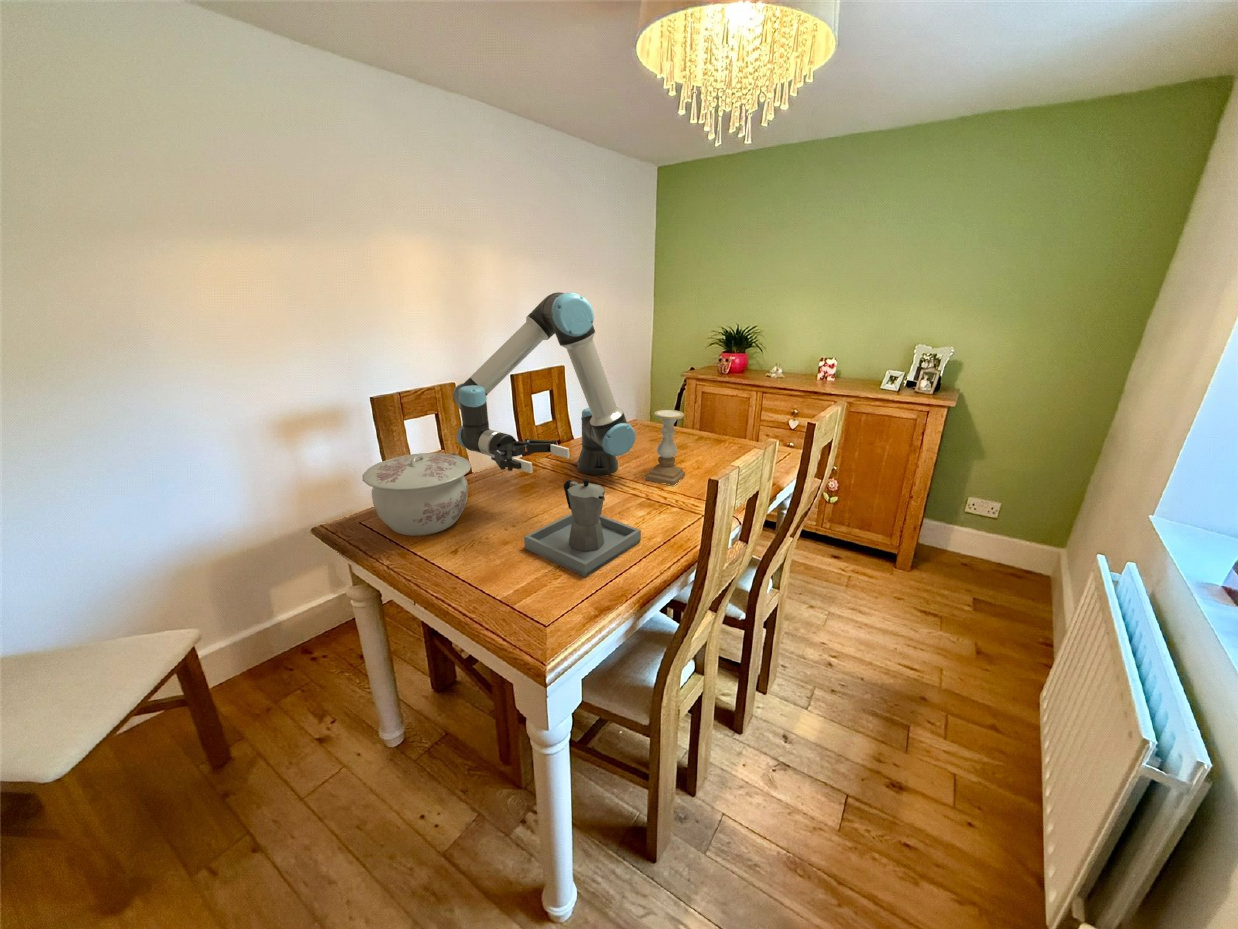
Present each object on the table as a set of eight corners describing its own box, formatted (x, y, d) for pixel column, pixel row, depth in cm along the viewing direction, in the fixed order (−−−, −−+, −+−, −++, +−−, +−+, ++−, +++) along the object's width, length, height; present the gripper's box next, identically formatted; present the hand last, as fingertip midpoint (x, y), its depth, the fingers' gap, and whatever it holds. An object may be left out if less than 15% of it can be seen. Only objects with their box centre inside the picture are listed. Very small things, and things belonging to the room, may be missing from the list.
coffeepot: (617, 546, 125) (618, 481, 119) (589, 559, 119) (588, 491, 113) (579, 525, 135) (578, 465, 129) (551, 536, 129) (549, 473, 123)
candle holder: (645, 480, 171) (647, 414, 162) (657, 470, 180) (660, 407, 172) (674, 486, 166) (678, 418, 158) (685, 476, 175) (689, 411, 167)
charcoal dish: (582, 519, 142) (582, 508, 140) (640, 541, 130) (640, 530, 128) (524, 548, 125) (524, 536, 124) (585, 577, 113) (585, 564, 112)
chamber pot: (379, 559, 119) (365, 481, 112) (366, 516, 141) (353, 448, 134) (491, 532, 133) (485, 461, 126) (463, 496, 155) (456, 434, 148)
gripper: (531, 446, 150) (582, 460, 138) (463, 470, 132) (515, 488, 119) (529, 422, 147) (581, 435, 135) (459, 443, 129) (512, 460, 117)
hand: (550, 460), depth 127 cm, fingers open, 13 cm apart
